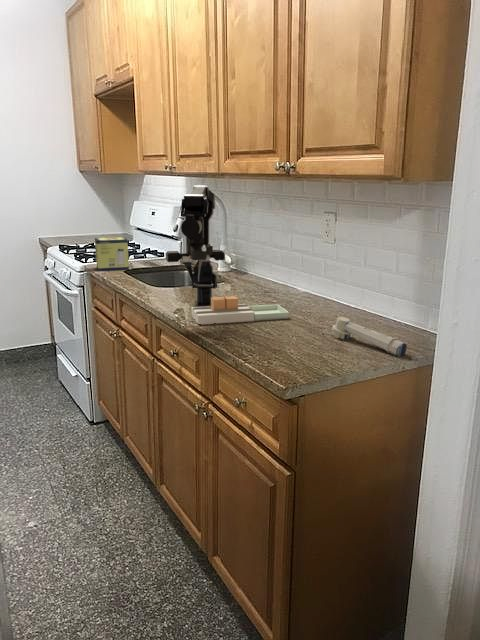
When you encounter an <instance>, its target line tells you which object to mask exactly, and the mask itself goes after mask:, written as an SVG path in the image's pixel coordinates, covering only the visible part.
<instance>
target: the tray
mask: <svg viewBox="0 0 480 640" xmlns="http://www.w3.org/2000/svg"><path fill="white" fill-rule="evenodd" d="M247 306H248V307H249V308H252V311H254V322H257V321H275V320H286V319H287V320H289V319H290V312H289V311H288V310H287V309H285V308H284V307H283V306H281V305H279V304H276V303H275V304H261V305H247Z"/></svg>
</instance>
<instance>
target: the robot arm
mask: <svg viewBox="0 0 480 640" xmlns="http://www.w3.org/2000/svg"><path fill="white" fill-rule="evenodd" d="M215 209H216V196H215V193H213V192H212V191H211V190H210V189H209V185H206V184H196V185H195V184H194V185H193V189H192V191H191V193H184V195H183V197H182V198H181V205H180V217H182V218H184V217H185V220H184V221H182V224H181V226H180V230H181V232H182V235H183V236H185V243H186V244H185V245H186V246H185V247H186V248H185V250H186V252H185V253H184V252H183V253H182V252H180V251H178V250H170V251H169V250H167V251H166V252H165V261H166V262H167V263H178V262H180V263H181V264H182V265H184V267H185V269H186V271H187V274H188V276H189V279H190V281H191V284H192V286H191V287H192V289H196V300H194V303H195V304H196V306H211V297H213V290H214V289H216V288H218V277H217V275H216V273H215V271H214V266H213V265H212V263H211V262H212V261H211V259H214V260H215V261H226V254H225V251H223V250H221V249H214V247H213V244H212V243H210V221H211V218H212V217H213V215H214V213H215V212H214V210H215ZM191 260H192V261H197V262H196V263H195V265H194V266H193V265H192V262H191ZM192 266H193V267H192Z"/></svg>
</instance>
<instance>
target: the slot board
mask: <svg viewBox="0 0 480 640" xmlns="http://www.w3.org/2000/svg"><path fill="white" fill-rule="evenodd" d="M248 306H249V305H248V304H245V303H244V304H243V303H242V304H239V303H238V309H228V310H212V309H211V305H203V306H193V307H191V317H192V318H193V320H194V319H195V320H194V321H195V322H196V324H197V323H198V324H201V325H214V323H216V324H227V323H228V324H229V323H244V322H255V320H254V311H252V308H249V307H248ZM198 324H197V325H198Z"/></svg>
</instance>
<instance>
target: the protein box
mask: <svg viewBox="0 0 480 640" xmlns="http://www.w3.org/2000/svg"><path fill="white" fill-rule="evenodd" d="M128 243H129V242H128V239H127V238H126V237H125V236H119V237H117V236H116V237H95V238H94V246H95V258H96V259H95V261H96V269H97V271H98V272H111V271H112V272H114V271H128V270H130V266H129V265H130V261H129V246H128V245H129V244H128Z"/></svg>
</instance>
